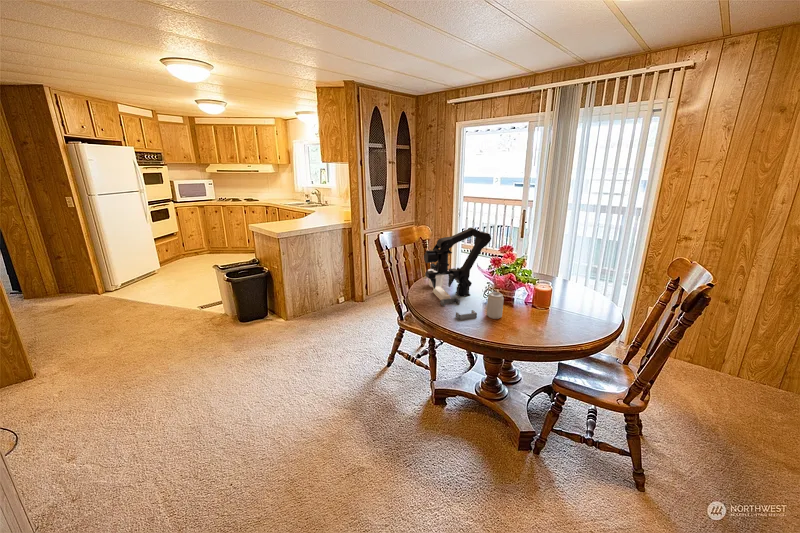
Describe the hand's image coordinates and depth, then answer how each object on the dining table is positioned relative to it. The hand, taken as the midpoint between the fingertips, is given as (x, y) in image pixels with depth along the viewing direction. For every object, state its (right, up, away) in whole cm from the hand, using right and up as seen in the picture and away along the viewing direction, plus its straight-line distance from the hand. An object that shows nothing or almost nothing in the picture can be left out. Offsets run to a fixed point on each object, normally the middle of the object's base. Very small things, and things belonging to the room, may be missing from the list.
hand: (441, 287), depth 189 cm
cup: (-1, 0, +20) cm, 20 cm away
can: (+23, -13, -23) cm, 35 cm away
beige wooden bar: (0, -6, +2) cm, 6 cm away
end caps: (+6, -11, -17) cm, 21 cm away
